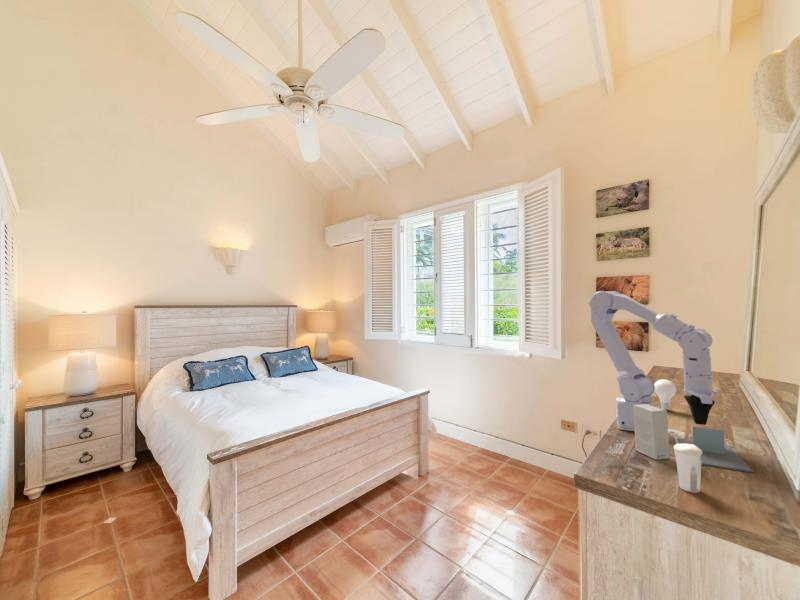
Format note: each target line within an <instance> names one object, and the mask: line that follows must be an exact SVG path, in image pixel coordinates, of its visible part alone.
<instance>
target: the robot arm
mask: <svg viewBox="0 0 800 600" xmlns="http://www.w3.org/2000/svg"><path fill="white" fill-rule="evenodd" d="M588 305H589V307H590V322H591V324H592V326H593V328H594V330H595V332H596V333H597V335H598V338H599V339H600V341H601V342H602V345H603V346H604V348H605V351H606V352H607V354H608V356H609V358H610V360H611V362H612V363H613V366H614V367H615V369H616V371H617V375H616V381H617V382H618V389H619V393H620V394H621V396H622V397H616V398H615V407H616V408H615V411H616V413H615V414H616V415H615V421H616V425H617V428H618V429H619V430H623V431H631V432H635V427H634V407H633V405H640V404H648V405H651V406H653V399H652V396H651V395H653V393H654V392H655V391H654V390H655V386H654V383H655V382H654V381H653V380H652V379H650V378H649V377H648V376H646V374H645V372H644V371H643V370H642V369H641V368H640V367H638V366H637V365H636V363H635V362H634V360H633V358H632V355H631V354H630V352H629V351H628V349H627V347H626V346H625V345H626V344H624V342H623V340H622V338H621V337H620V335H619V333H618V331H617V329H616V327H615V326H614V324H613V322H612V320H613V318H614V317H615V314H616V313H617V312H618V311H619V310H623V311H627V312H629V313H631V314H632V315H635V316H636V317H639V318H640V319H643V320H645V321H646V322H648V323H651V325H652V328H653V330H654V331H656V332H658V333H659V334H661V335H663V336H665V337H666V338H668V339H670V340H672V341H674V342H675V343H678V346H679V347H680V348H681V350H682V363H683V364H682V365H683V382H684V383H683V384H684V385H683V387H684V388H683V392H684V393H686V394H688V395H683V398H684V399H685V401H686V402H687V404H688V407H689V409H690V412H691V416H692V419H693V421H694V424H695V425H699V426H706V425H707V422H708V419H709V414H710V412H711V409H712V407H714V405H715V403H716V401H715V400H714V399H713V396H714V395H719V394H720V393H719V391H718V390H714V389H713V376H712V375H713V373H712V358H711V351H710V347H711V346H712V344H713V336H712V335H711V334H710V333H709V332H707V331H706V330H705V329H701V328H696V325H693V324H692V323H691V324H688V323H686V322H685V321H684V320H683V321H682V320H681V319H678V316H677V315H675V314H674V313H673V314H672V313H671V314H669V313H661V314H660V313H657V312H656V311H654V310H652V309H651V308H649V307H647V306H646V305H643V304H642V303H640V302H639V301H636V300H635V299H633V298H632V297H630V296H629V295H626V294H623V293H621V292H620V291H617V290H610V291H605V290H598V291H595V292H594V293H593V294H592V295H591V297H590V300H589V302H588ZM616 418H617V419H616Z"/></svg>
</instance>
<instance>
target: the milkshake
mask: <svg viewBox="0 0 800 600" xmlns="http://www.w3.org/2000/svg"><path fill="white" fill-rule="evenodd" d="M673 438H675V440H674V441H675V444H674V445H673V453H674V458H675V459H674V460H675V464H676V470H677V477H678V478H677V479H678V485H679V488H680V489H682V490H683V491H685V492H688V493H693V494H698V493H701V480H702V465H701V463H702V451H701V449H699V448H698V447H697V446H695V445H693V444H686V443H684V444H679V443H678V441H677V435H676V434H673Z"/></svg>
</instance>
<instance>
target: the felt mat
mask: <svg viewBox="0 0 800 600" xmlns="http://www.w3.org/2000/svg"><path fill="white" fill-rule="evenodd" d="M673 438H674V437H673ZM676 438H677V437H676ZM673 440H674V441H675V438H674V439H673ZM677 441H678V443H679V444H684V443H686V444H692V439H685V438H684V439H683V438H677ZM724 446H725V454H718V453H711V452H703V451H702V463H701V466H706V467H707V466H708V467H713V468H718V469H720V468H721V469H727V470H731V471H732V470H734V471H739V472H744V473H745V472H746V473H751V474H754V472H755V471H754V470H753V469H752V467H750V466H749V465H748V464H747V463H746V462H745V461H744V460H743V459H742V458H741V457H740V456H739V455H738V454H737V453H735V451H734V450H733V449H732V448H731V447H730V446H728V445H727V444H725V443H724Z"/></svg>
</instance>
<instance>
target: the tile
mask: <svg viewBox="0 0 800 600" xmlns="http://www.w3.org/2000/svg"><path fill="white" fill-rule="evenodd" d="M690 434H691V436H690V437H691V440H692V444H693V445H695V446H697V447H698V448H699V449H701V451H703V452H711V453H718V454H725V446H724V444H725V431H724V429H723V428H722V427H715V426H714V427H713V426H712V427H711V426H706V425H698V424H690Z"/></svg>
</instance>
